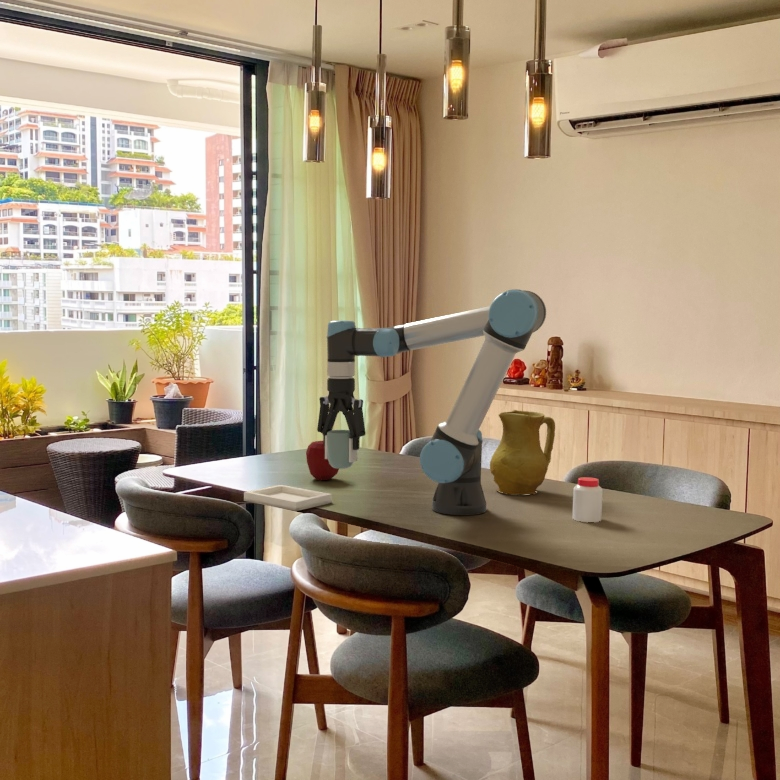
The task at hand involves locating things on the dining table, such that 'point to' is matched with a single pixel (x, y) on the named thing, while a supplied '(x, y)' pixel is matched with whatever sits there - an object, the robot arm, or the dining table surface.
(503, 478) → the pitcher
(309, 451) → the apple
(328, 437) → the cup
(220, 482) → the dining table surface
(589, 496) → the pill bottle
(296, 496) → the tray
